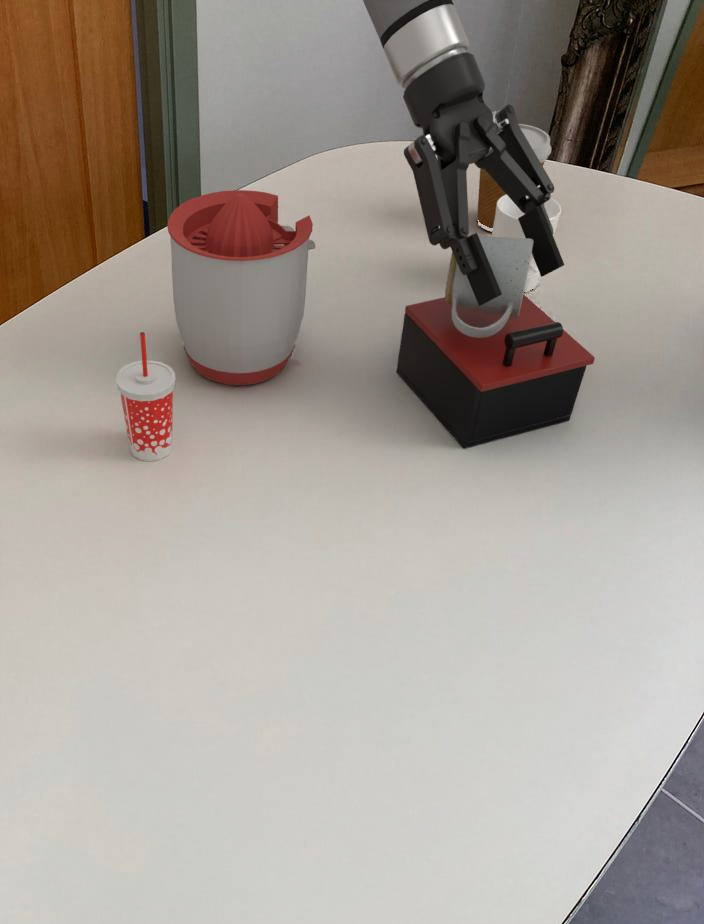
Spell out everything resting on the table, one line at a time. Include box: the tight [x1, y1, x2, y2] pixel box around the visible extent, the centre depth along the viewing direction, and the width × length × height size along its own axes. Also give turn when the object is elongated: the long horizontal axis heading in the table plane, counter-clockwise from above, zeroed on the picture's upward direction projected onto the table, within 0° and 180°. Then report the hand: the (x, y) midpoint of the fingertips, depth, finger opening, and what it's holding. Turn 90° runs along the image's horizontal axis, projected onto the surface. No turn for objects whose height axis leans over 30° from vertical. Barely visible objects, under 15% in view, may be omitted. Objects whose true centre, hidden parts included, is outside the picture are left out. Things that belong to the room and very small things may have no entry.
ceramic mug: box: [444, 235, 534, 338], centre depth 103 cm, size 11×8×8 cm
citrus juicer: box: [166, 189, 316, 387], centre depth 112 cm, size 16×17×20 cm
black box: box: [395, 312, 587, 449], centre depth 111 cm, size 16×14×8 cm
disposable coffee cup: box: [476, 123, 552, 228], centre depth 136 cm, size 10×10×12 cm
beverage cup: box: [115, 331, 176, 462], centre depth 102 cm, size 6×6×14 cm
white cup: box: [491, 195, 562, 293], centre depth 127 cm, size 8×8×10 cm
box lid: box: [404, 293, 596, 392], centre depth 106 cm, size 16×14×4 cm
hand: (522, 285), depth 102 cm, fingers closed on ceramic mug, 9 cm apart
